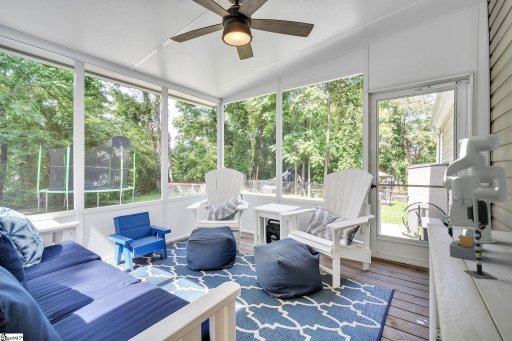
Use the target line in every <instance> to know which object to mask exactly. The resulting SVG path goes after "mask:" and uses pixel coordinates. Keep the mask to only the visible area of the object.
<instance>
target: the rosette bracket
mask: <svg viewBox="0 0 512 341" xmlns="http://www.w3.org/2000/svg"><path fill="white" fill-rule="evenodd" d="M461 235H465V236H473V240H472V247H466V246H460V239H458V240H454V241H452V242H451V243H450V245H449V257H452V258H458V259H463V260H464V259H465V260H471V261H476V249H475V236H474V229H469V227H468V228H465V227H463V228H461ZM482 248H484V243H481V249H482Z"/></svg>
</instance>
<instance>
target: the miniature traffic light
mask: <svg viewBox="0 0 512 341" xmlns="http://www.w3.org/2000/svg"><path fill="white" fill-rule="evenodd" d="M489 210H490V205H489V202H487V201H486V200H484V199H480V200H478V199H477V197H473V205H472V206H471V207H467V216H468V219H471V220H472V221H473V222H474V226H475V249H476V260H475V261H476V262H475V263H476V270H463V272H465V273H466V274H468V275H470V276H471V277H472V278H474V277H475V279H481V278H488V279H487V280H498V278H497V277H496V276H494V275H492V274H491V273H488V272H486V271H484V270H483V260H482V256H483V254H482V248H481V243H480V235H479V228H480V226H482V225H483V226H488V225H489V224H490V221H489V219H490V218H491V217H490V218H489ZM479 223H480V224H479Z"/></svg>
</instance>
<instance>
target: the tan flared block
mask: <svg viewBox="0 0 512 341" xmlns="http://www.w3.org/2000/svg"><path fill="white" fill-rule="evenodd" d="M458 240H460V246H466V247H472V240H473V236H465V235H462V234H459V235H458Z"/></svg>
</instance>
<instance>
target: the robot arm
mask: <svg viewBox="0 0 512 341" xmlns="http://www.w3.org/2000/svg"><path fill="white" fill-rule="evenodd" d="M500 143H501V140H500V137H499V135H498V134H495V133H492V134H491V133H490V134H482V135H473V136H466V137H463V138H460V139H458V141H457V144H458V151H457V159H455V160H454V161H453V162H451V163H450V164H449V165H447V167H446V168H445V170H444V173H443V178H442V184H443V188H444V189H446V190H448V191H451V203H450V207H449V215H447V216H444V217H442V218H440V221H441V223H442V224H443V225H444V226H445V227H446V228H447V231H448V235H449V237H450V238H453V236H454V231H453V230H454V229H453V226H460V227H468V229H474V236H475V226H474V222H473V221H472V220H471V219H468V216H467V207H471V206H472V205H473V197H477V199H478V200H480V199H484V200H486V201H487V202H488V204H489V203H491V204H492V203H494V204H502V203H505V202H507V200H508V184H507V175H506V170H505V169H504V167H503V166H500V165H487V158H486V156H485V155H484V154H483V152H491V151H492V152H494V151H496V150H497V149H498V148H499V147H500ZM464 170H466V175H465V174H463V175H460V174H459V175H455V174H456V173H458V172H461V171H464ZM482 184H494V185H482ZM489 218H490V219H489V221H490V224H489V225H488V226H483V225H482V226H480V228H479V235H480V243H482V244H496V243H497V240H496V239H494V238H493V236H492V222H491V211H490V209H489ZM446 220H449V223H447V222H446ZM479 224H480V223H479Z"/></svg>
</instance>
